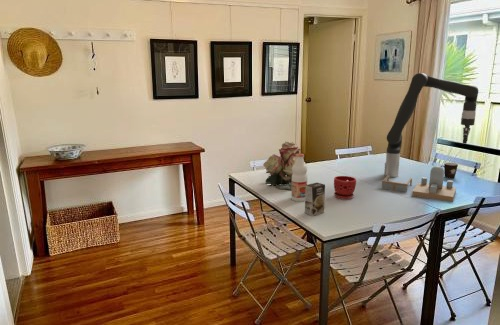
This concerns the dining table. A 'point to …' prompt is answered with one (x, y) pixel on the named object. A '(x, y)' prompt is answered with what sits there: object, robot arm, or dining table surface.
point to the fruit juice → (299, 179)
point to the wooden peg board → (435, 186)
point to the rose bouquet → (282, 166)
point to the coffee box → (314, 199)
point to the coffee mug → (450, 169)
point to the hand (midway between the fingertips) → (464, 142)
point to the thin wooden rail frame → (395, 185)
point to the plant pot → (344, 187)
